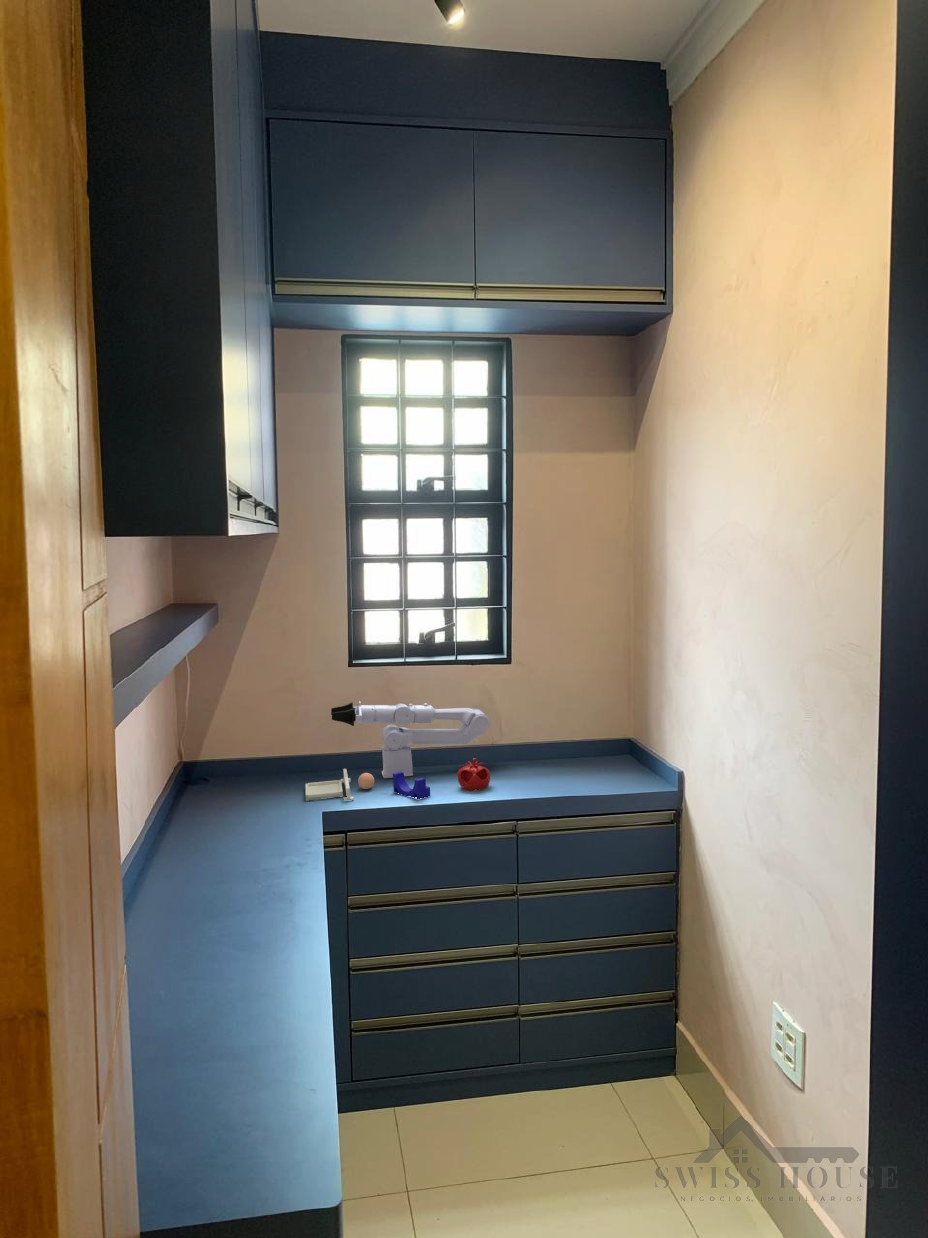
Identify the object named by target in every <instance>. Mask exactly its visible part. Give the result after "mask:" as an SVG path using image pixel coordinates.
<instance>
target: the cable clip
mask: <svg viewBox="0 0 928 1238" xmlns="http://www.w3.org/2000/svg"><path fill="white" fill-rule="evenodd" d="M426 781H427V779H426V778H424V777H420V778H416V779H414V784H413V787H410V786H409V784H408V783H407V781H406V777H405V776H404V772H397V773H393V778H392V782H393V784H392V785H393V793H394V792H397V793H399V794H398V795H401V794H402V795H401V796H404V795H405V797H407V796H411V797H414V798H415V797H417V799H420V798H424V797H427V798H429V797H428V796H430V797H431V787H430V786H427V782H426ZM397 793H396V794H397ZM424 799H425V798H424Z"/></svg>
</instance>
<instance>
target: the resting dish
mask: <svg viewBox="0 0 928 1238" xmlns="http://www.w3.org/2000/svg"><path fill="white" fill-rule="evenodd" d="M340 796H343V797H344V792H343V783H341V779H338V780H336V779H335V780H325V781H318V782H317V781H316V782H315V781H314V782H306V783H305V802H309V801H308V800H314V799H321V798H328V797H340ZM314 801H315V800H314Z"/></svg>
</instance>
